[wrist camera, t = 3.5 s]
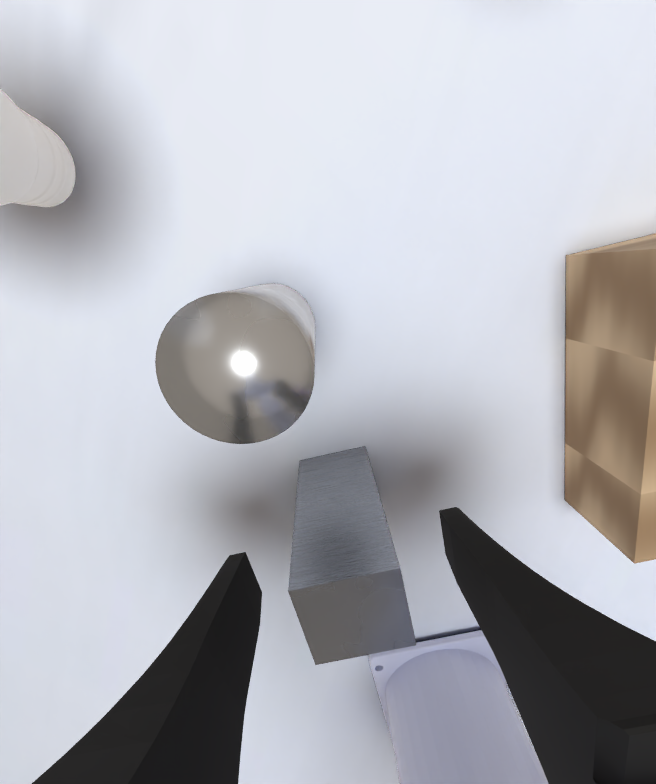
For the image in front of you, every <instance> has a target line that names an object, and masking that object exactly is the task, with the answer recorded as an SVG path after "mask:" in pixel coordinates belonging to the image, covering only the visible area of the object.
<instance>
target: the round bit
mask: <svg viewBox="0 0 656 784" xmlns="http://www.w3.org/2000/svg"><path fill="white" fill-rule="evenodd" d="M155 363H156V374H157V379H158V383H159V386H160V389H161V391H162V393H163V395H164V397H165V399H166V401H167V403H168V404H169V406H170V407H171V409H172V410H173V411H174V412H175V414H176V415H177V416H178V417H179V418H180V419H181V420H182V421H183V422H184V423H186V424H187V425H188V426H190V427H191V428H192V429H194V430H195V431H197V432H199V433H201V434H202V435H205V436H207V437H209V438H212V439H215V440H218V441H222V442H227V443H235V444H248V443H255V442H260V441H264V440H267V439H270V438H272V437H274V436H277V435H278V434H280V433H282V432H284V431H285V430H286V429H288V428H289V427H290V426H291V425H292V424H293V423H294V422H295V421H296V420H297V419H298V418H299V417H300V416H301V414H302V413H303V411H304V410H305V408H306V406H307V404H308V402H309V399H310V397H311V394H312V389H313V385H314V366H315V319H314V315H313V312H312V310H311V307H310V305H309V304H308V302H307V301H306V300H305V298H304V297H303V296H302V295H301V294H300V293H298V292H297V291H296V290H294V289H292V288H290V287H288V286H285V285H282V284H276V283H267V284H262V285H257V286H252V287H246V288H241V289H236V290H231V291H226V292H221V293H216V294H211V295H207V296H204V297H201V298H198V299H196V300H194V301H192V302H190V303H188V304H187V305H186V306H184V307H183V308H181V309H180V310H179V311H178V312H177V313H176V314H175V315H174V316H173V317H172V318H171V319H170V321H169V322H168V323H167V325H166V326H165V328H164V330H163V332H162V334H161V336H160V339H159V342H158V346H157V350H156V361H155Z"/></svg>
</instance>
